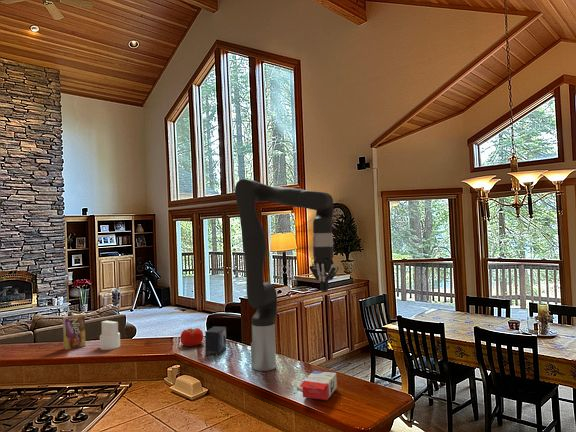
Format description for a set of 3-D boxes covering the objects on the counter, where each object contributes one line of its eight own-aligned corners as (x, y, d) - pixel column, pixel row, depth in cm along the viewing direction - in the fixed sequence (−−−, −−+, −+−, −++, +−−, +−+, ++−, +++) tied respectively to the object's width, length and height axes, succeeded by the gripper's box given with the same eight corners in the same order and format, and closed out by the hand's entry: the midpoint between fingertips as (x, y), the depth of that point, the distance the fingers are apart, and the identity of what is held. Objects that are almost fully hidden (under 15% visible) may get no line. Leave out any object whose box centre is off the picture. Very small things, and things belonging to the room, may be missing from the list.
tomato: (204, 341, 209) (204, 326, 209) (201, 347, 198) (201, 331, 198) (182, 342, 209) (182, 327, 209) (178, 348, 198) (177, 332, 198)
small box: (218, 356, 185) (218, 332, 185) (204, 355, 186) (204, 331, 186) (227, 349, 195) (226, 326, 195) (213, 348, 196) (213, 325, 197)
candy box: (83, 344, 210) (82, 313, 210) (85, 346, 207) (85, 314, 207) (63, 348, 204) (62, 316, 204) (65, 350, 201) (65, 317, 201)
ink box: (313, 384, 147) (298, 401, 133) (313, 370, 147) (298, 385, 133) (337, 387, 144) (324, 404, 130) (337, 372, 144) (324, 388, 130)
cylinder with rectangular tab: (95, 348, 203) (95, 323, 203) (112, 343, 210) (111, 319, 211) (107, 350, 198) (107, 324, 198) (124, 345, 206) (123, 320, 206)
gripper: (303, 245, 161) (304, 291, 161) (329, 246, 151) (331, 294, 151) (316, 244, 166) (317, 288, 166) (343, 244, 157) (344, 291, 156)
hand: (324, 291), depth 158 cm, fingers closed
